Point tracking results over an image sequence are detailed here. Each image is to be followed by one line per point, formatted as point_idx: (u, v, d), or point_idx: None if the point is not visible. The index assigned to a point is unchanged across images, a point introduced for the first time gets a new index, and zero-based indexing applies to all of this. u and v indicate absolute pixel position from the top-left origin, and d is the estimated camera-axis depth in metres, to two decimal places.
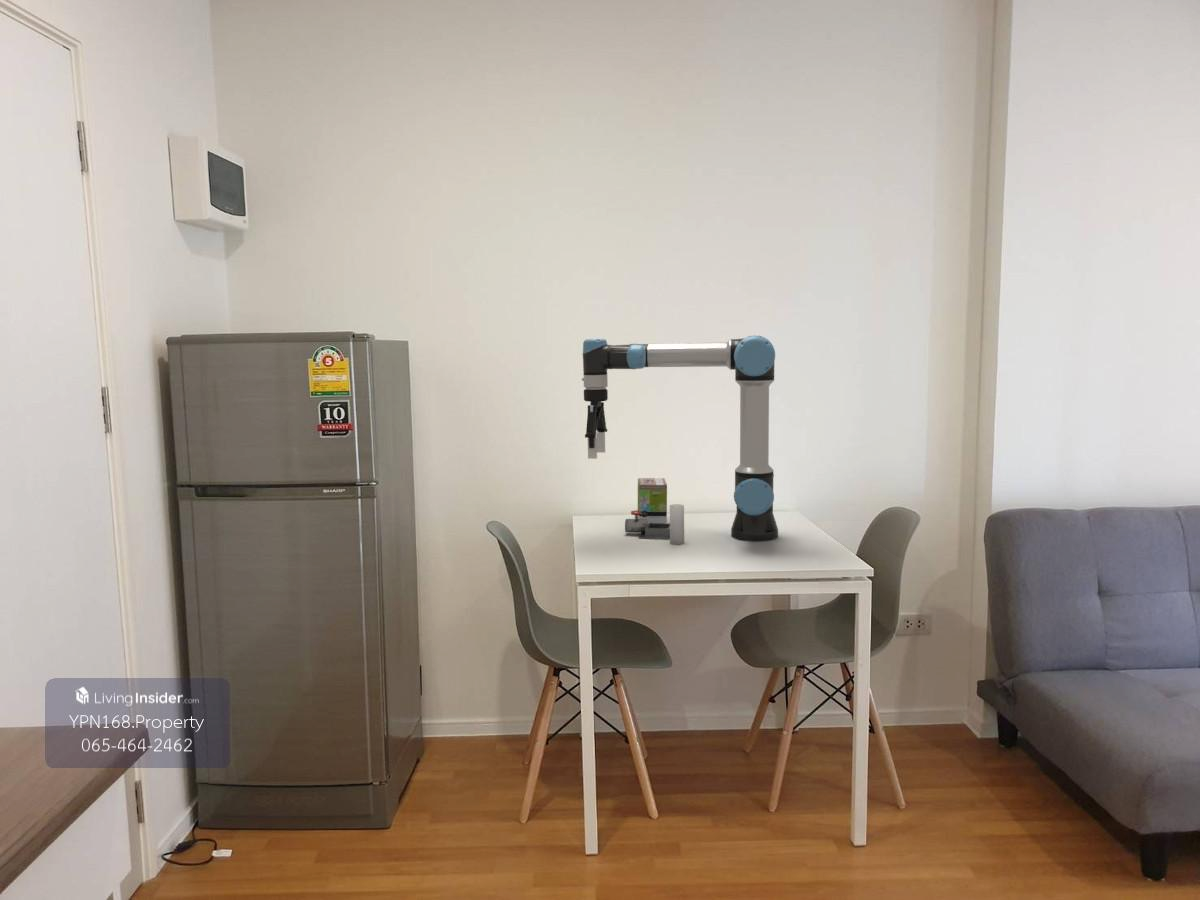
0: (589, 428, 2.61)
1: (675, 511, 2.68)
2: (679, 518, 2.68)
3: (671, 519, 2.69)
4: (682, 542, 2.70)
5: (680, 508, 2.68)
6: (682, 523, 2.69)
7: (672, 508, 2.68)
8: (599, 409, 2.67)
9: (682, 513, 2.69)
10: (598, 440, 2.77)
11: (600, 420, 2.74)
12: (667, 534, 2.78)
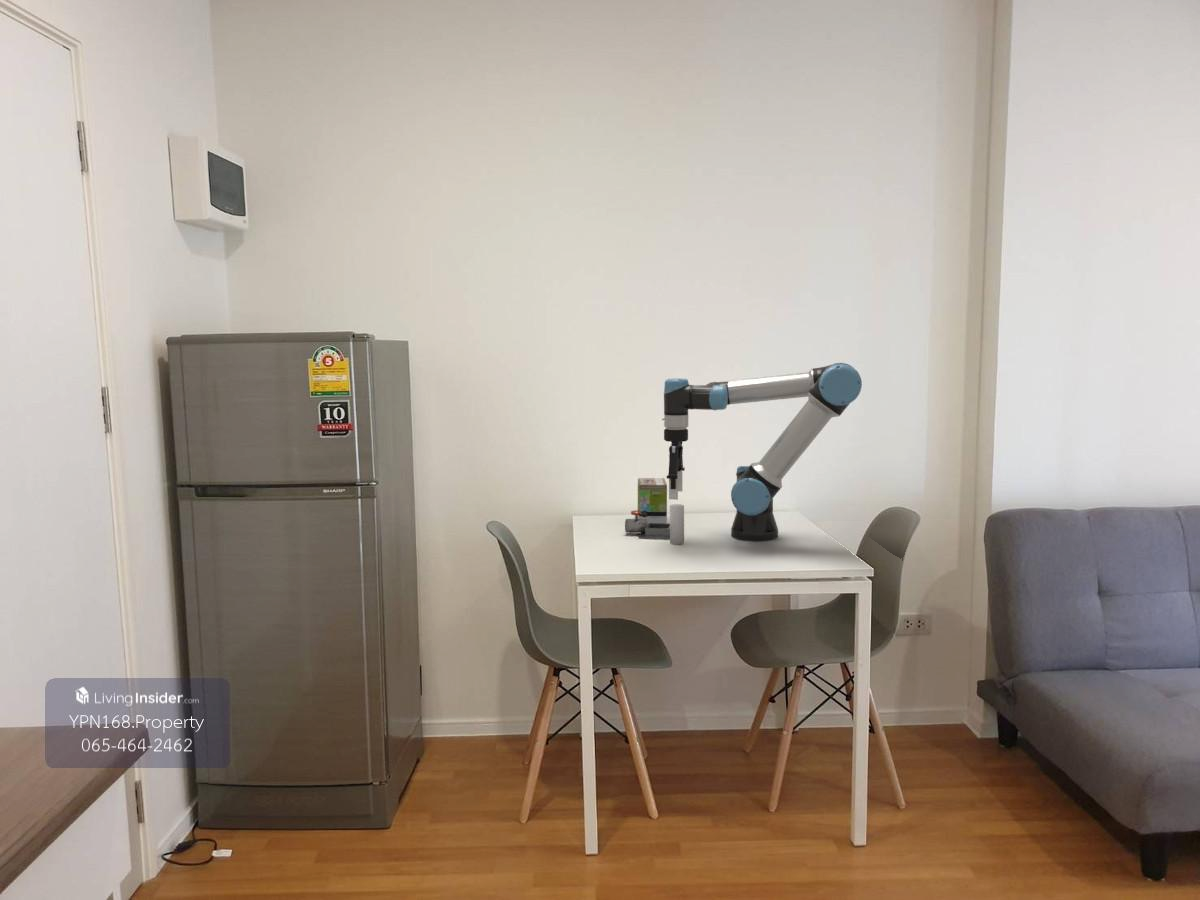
0: (671, 469, 2.59)
1: (675, 511, 2.68)
2: (679, 518, 2.68)
3: (671, 519, 2.69)
4: (682, 542, 2.70)
5: (680, 508, 2.68)
6: (682, 523, 2.69)
7: (672, 508, 2.68)
8: (679, 449, 2.65)
9: (682, 513, 2.69)
10: None
11: (679, 459, 2.72)
12: (667, 534, 2.78)
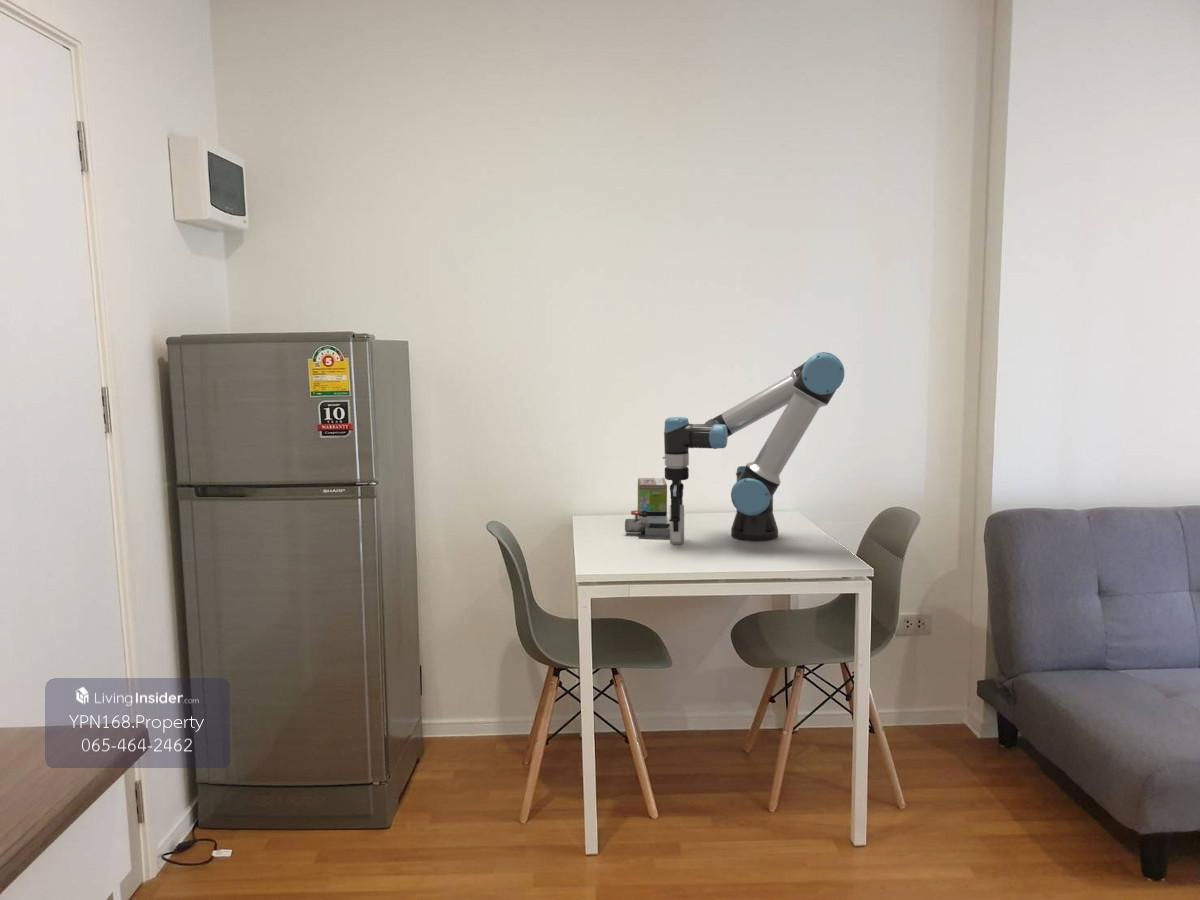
0: (674, 513, 2.64)
1: None
2: None
3: None
4: (682, 542, 2.70)
5: (680, 508, 2.68)
6: (682, 523, 2.69)
7: None
8: (680, 488, 2.67)
9: (682, 513, 2.69)
10: None
11: (679, 501, 2.71)
12: (667, 534, 2.78)
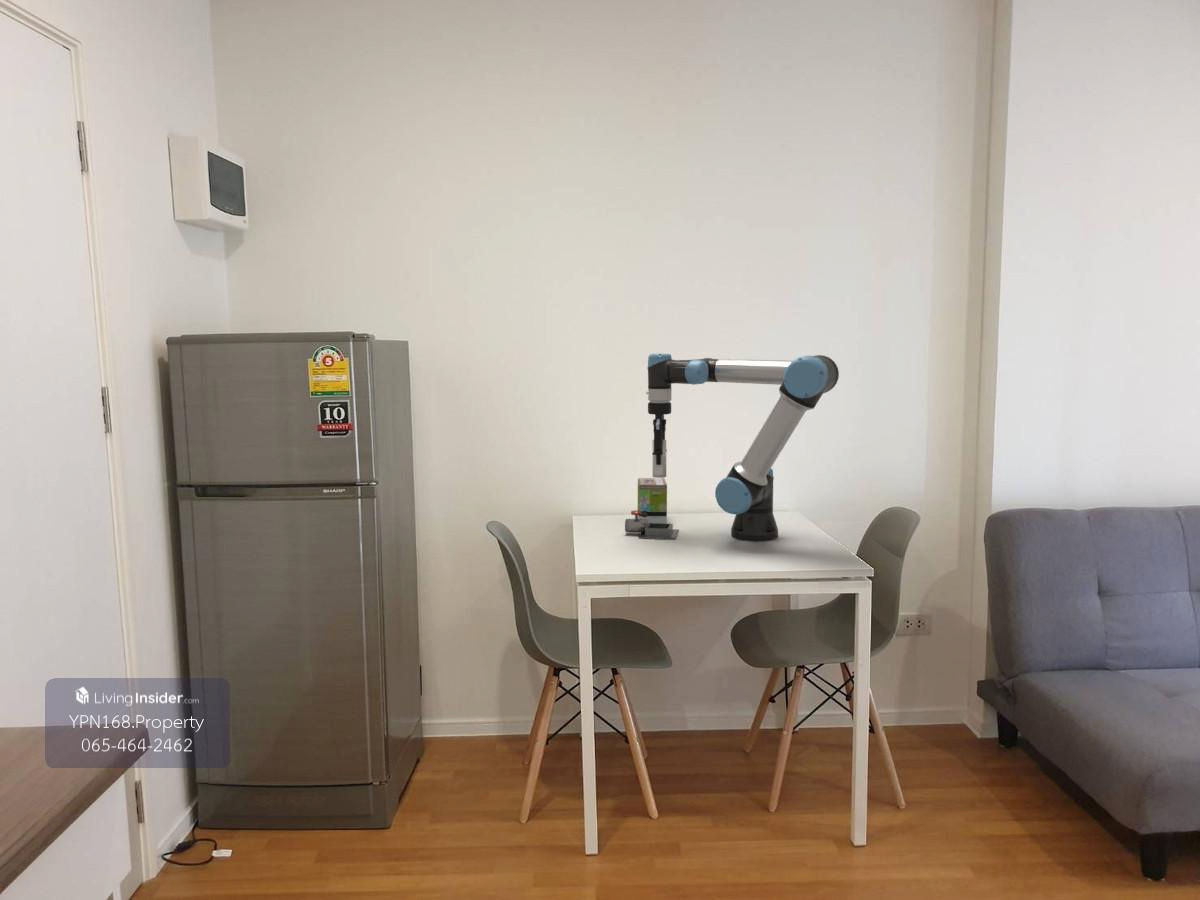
0: (656, 446, 2.71)
1: None
2: None
3: None
4: (664, 475, 2.77)
5: None
6: (664, 457, 2.76)
7: None
8: (663, 423, 2.74)
9: (664, 447, 2.76)
10: None
11: (662, 435, 2.78)
12: (667, 534, 2.78)
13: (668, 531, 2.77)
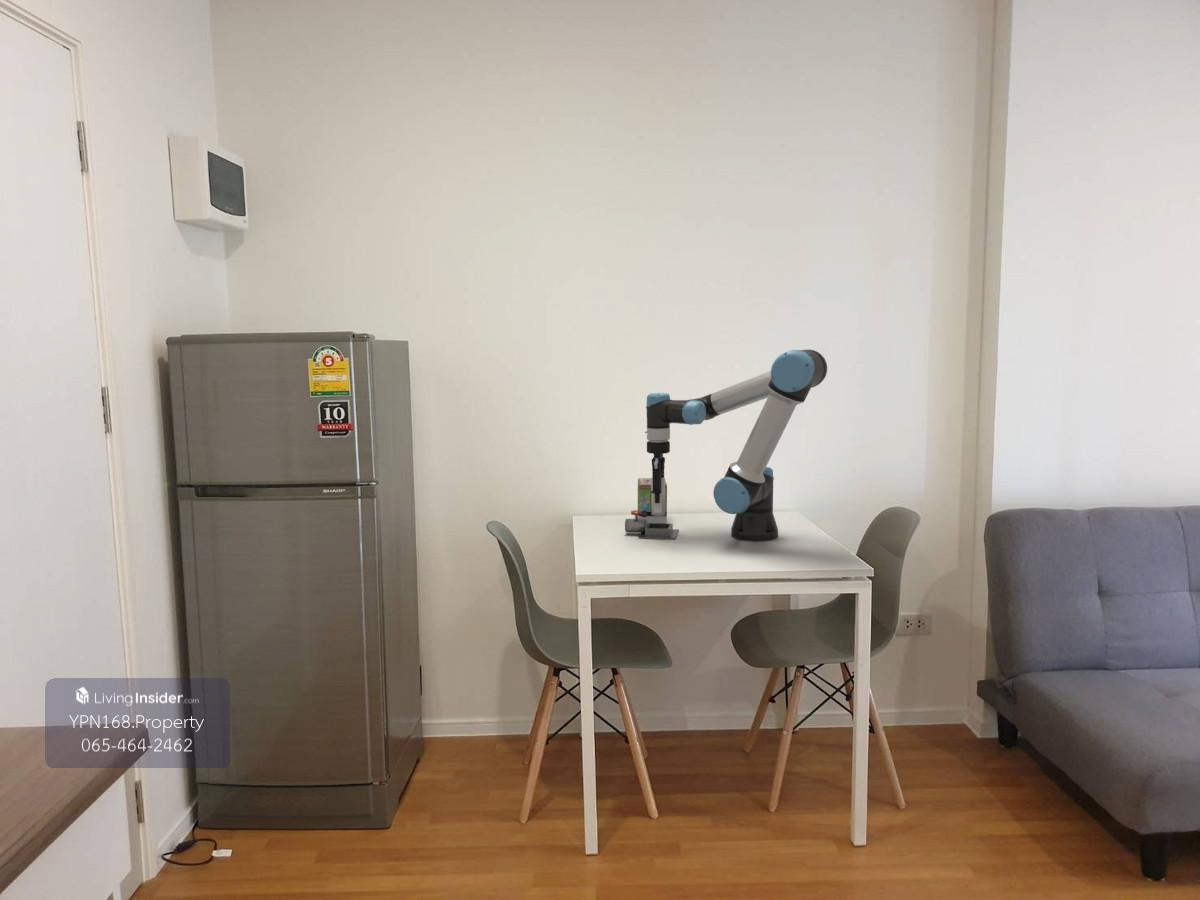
0: (655, 485, 2.74)
1: None
2: None
3: None
4: (663, 513, 2.80)
5: (661, 480, 2.78)
6: (663, 495, 2.79)
7: None
8: (661, 461, 2.77)
9: (663, 485, 2.79)
10: None
11: (660, 474, 2.81)
12: (667, 534, 2.78)
13: (668, 531, 2.77)
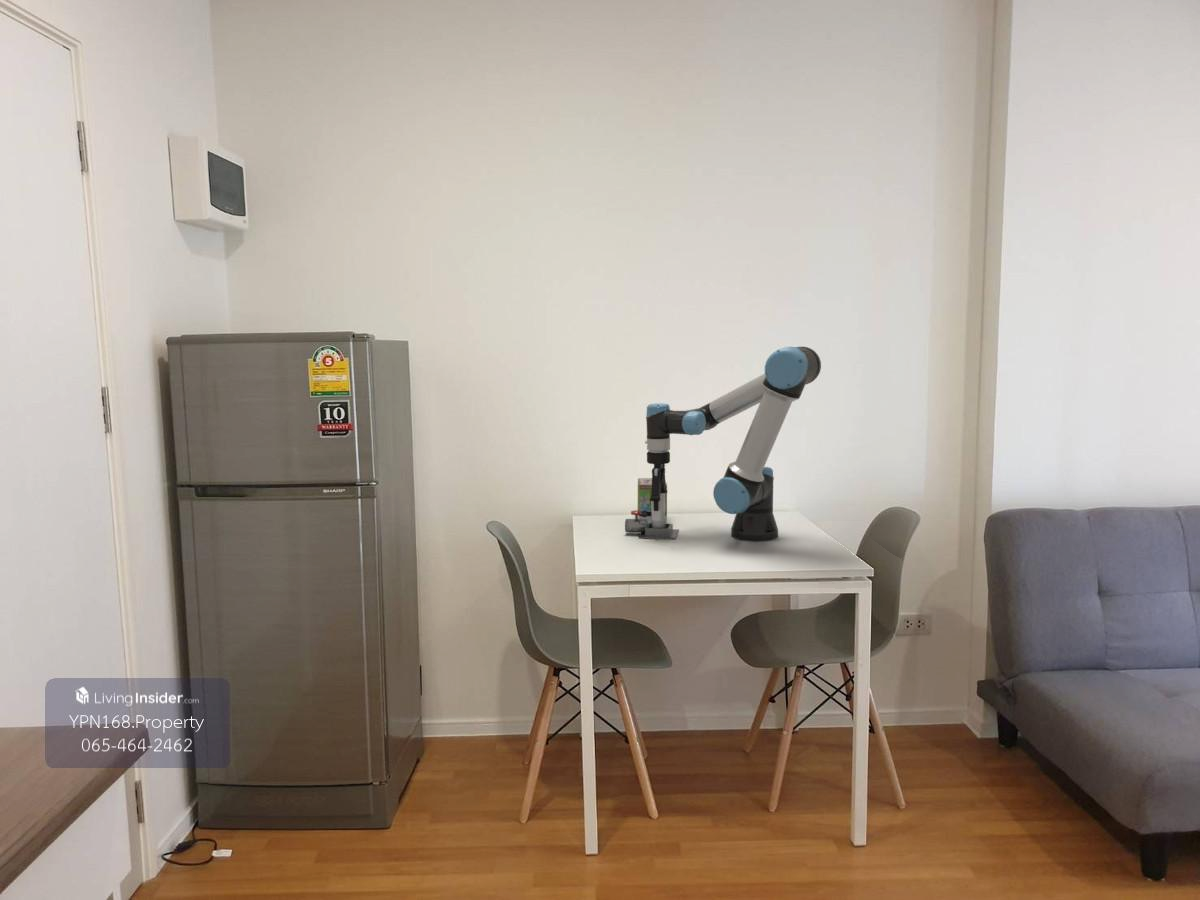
0: (654, 492, 2.72)
1: None
2: None
3: None
4: None
5: (661, 500, 2.78)
6: (663, 514, 2.80)
7: None
8: (662, 471, 2.77)
9: (663, 504, 2.79)
10: None
11: (661, 481, 2.84)
12: (667, 534, 2.78)
13: (668, 531, 2.77)
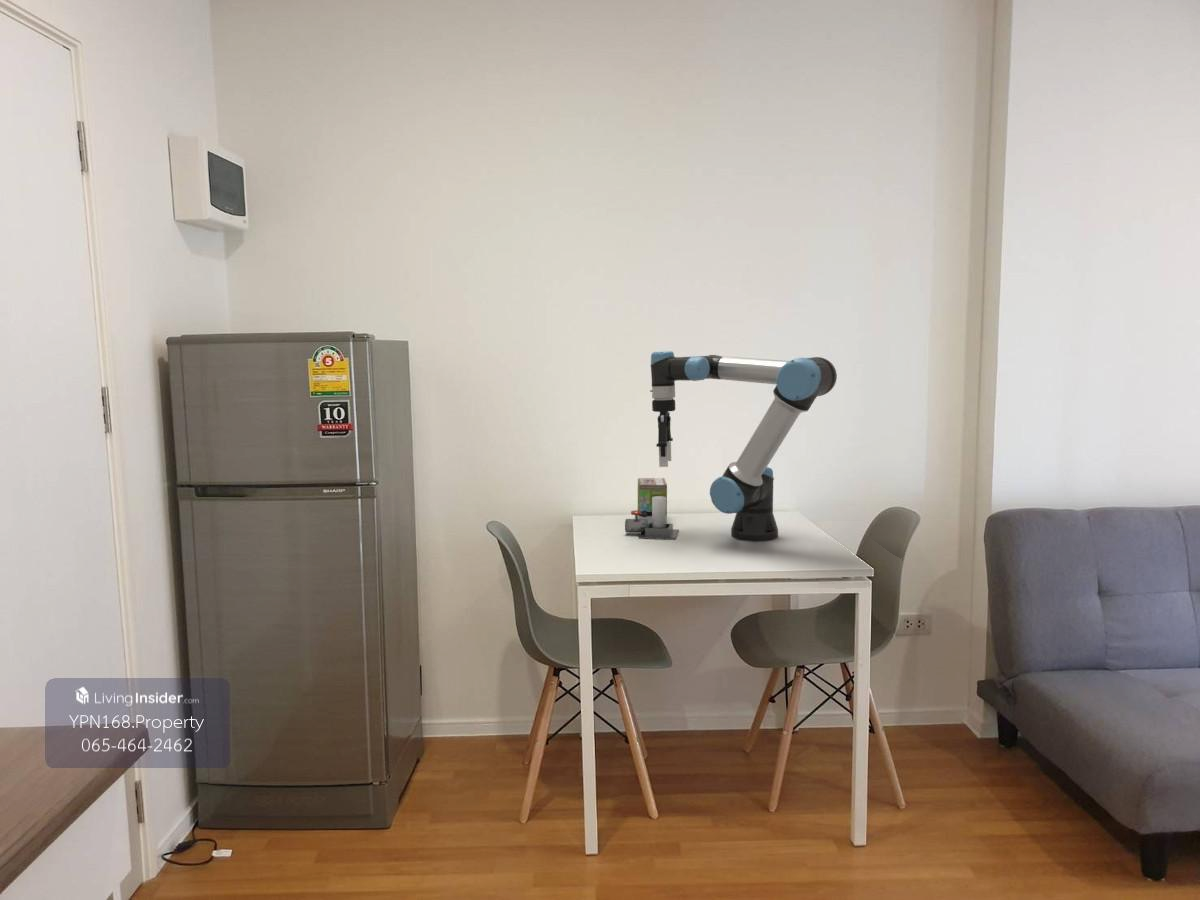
0: (661, 437, 2.70)
1: (657, 503, 2.78)
2: (661, 509, 2.79)
3: (653, 510, 2.80)
4: None
5: (662, 500, 2.78)
6: (664, 514, 2.80)
7: (654, 500, 2.79)
8: (667, 418, 2.76)
9: (664, 505, 2.79)
10: None
11: (667, 430, 2.83)
12: (667, 534, 2.78)
13: (668, 531, 2.77)
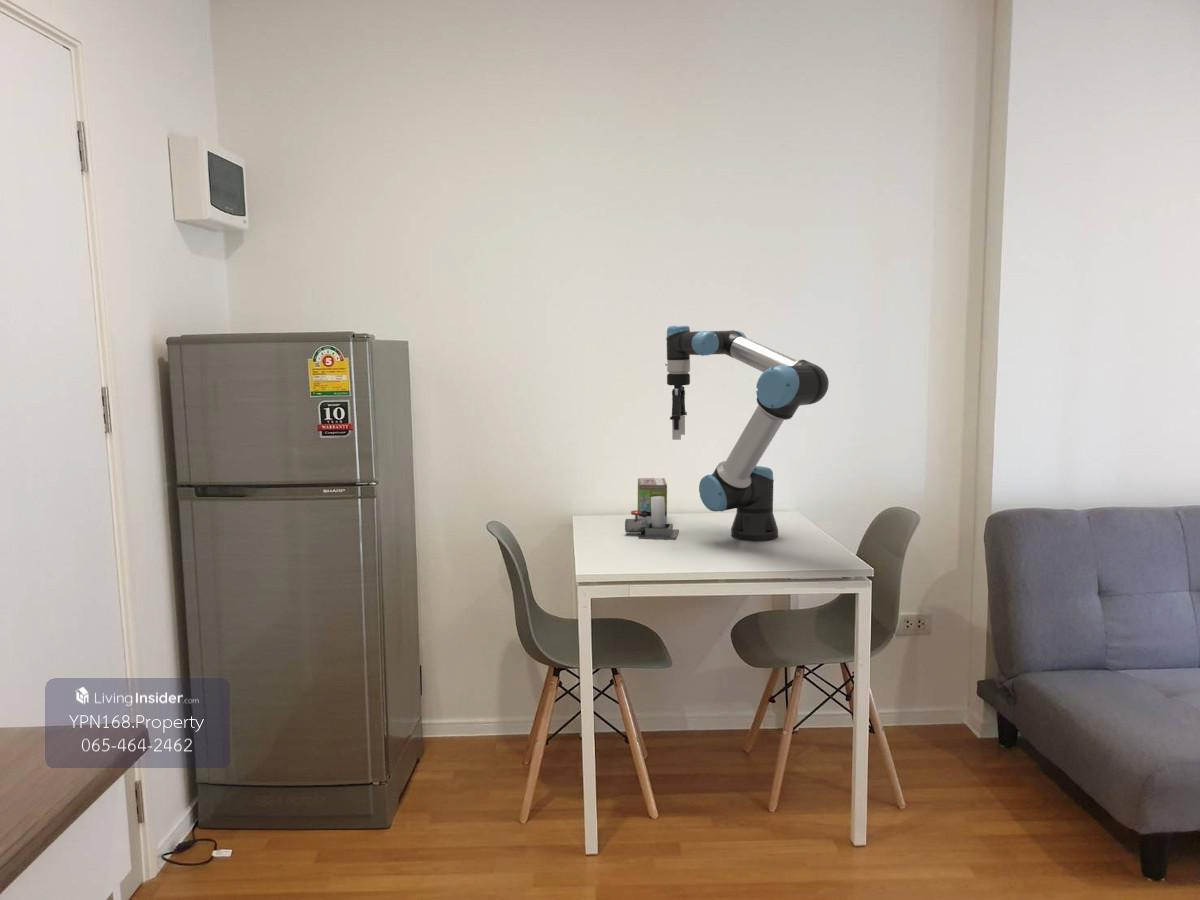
0: (674, 410, 2.74)
1: (656, 503, 2.78)
2: (660, 509, 2.79)
3: (652, 510, 2.80)
4: None
5: (661, 500, 2.78)
6: (663, 514, 2.80)
7: (653, 500, 2.79)
8: (682, 392, 2.80)
9: (663, 504, 2.79)
10: None
11: (681, 403, 2.86)
12: (667, 534, 2.78)
13: (668, 531, 2.77)
